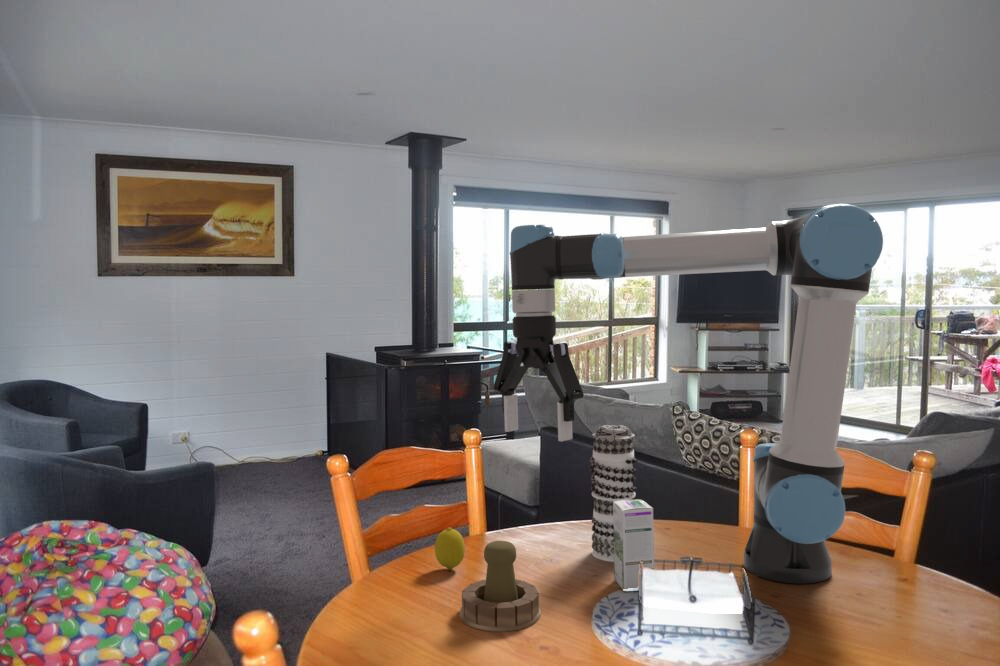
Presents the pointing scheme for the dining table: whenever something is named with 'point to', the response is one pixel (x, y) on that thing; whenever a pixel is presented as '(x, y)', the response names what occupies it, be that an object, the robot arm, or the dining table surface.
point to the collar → (500, 608)
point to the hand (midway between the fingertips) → (537, 435)
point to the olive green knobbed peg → (500, 572)
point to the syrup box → (632, 540)
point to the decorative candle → (610, 483)
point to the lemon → (449, 548)
